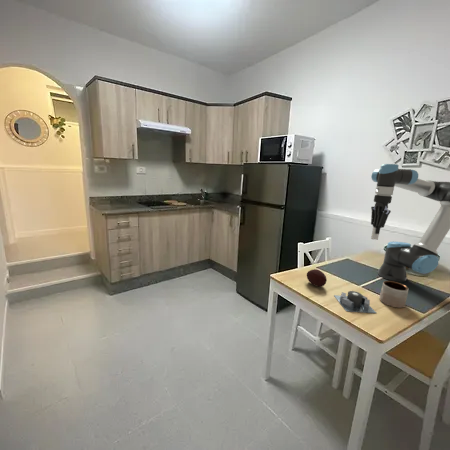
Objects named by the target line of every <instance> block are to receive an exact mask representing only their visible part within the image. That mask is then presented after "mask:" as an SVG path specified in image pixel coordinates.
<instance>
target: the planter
mask: <svg viewBox="0 0 450 450" xmlns="http://www.w3.org/2000/svg"><path fill="white" fill-rule="evenodd" d="M409 289H410V288H409V287H408V286H407V285H405V284H403V283H402V282H397V281H392V280H385V281H382V285H381V289H380V293H379V300H380V301H381V302H382V303H383V304H385V305H386V306H389V307H392V308H395V309H396V308H397V309H401V308H404V307H406V302H407V298H408V295H409Z"/></svg>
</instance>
